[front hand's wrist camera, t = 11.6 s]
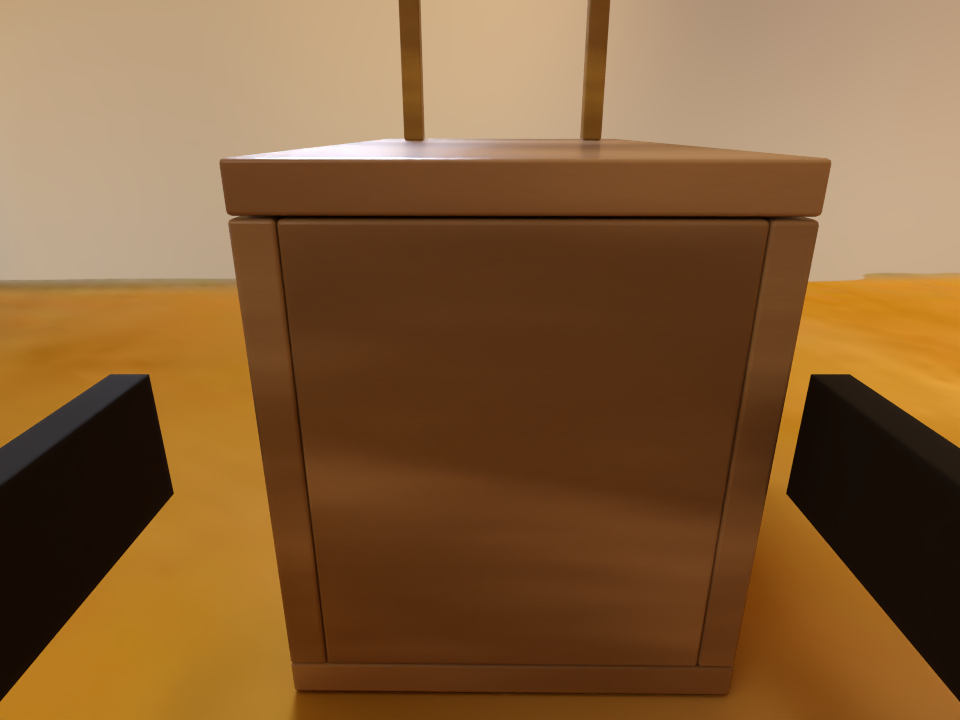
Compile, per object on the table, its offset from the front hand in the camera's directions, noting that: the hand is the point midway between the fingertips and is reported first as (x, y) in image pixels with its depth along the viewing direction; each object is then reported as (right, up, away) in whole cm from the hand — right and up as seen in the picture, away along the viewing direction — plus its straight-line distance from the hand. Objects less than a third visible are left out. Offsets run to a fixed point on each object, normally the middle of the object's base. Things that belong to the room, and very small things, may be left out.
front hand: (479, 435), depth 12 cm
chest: (+1, -3, +9) cm, 9 cm away
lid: (+1, +7, +6) cm, 9 cm away
